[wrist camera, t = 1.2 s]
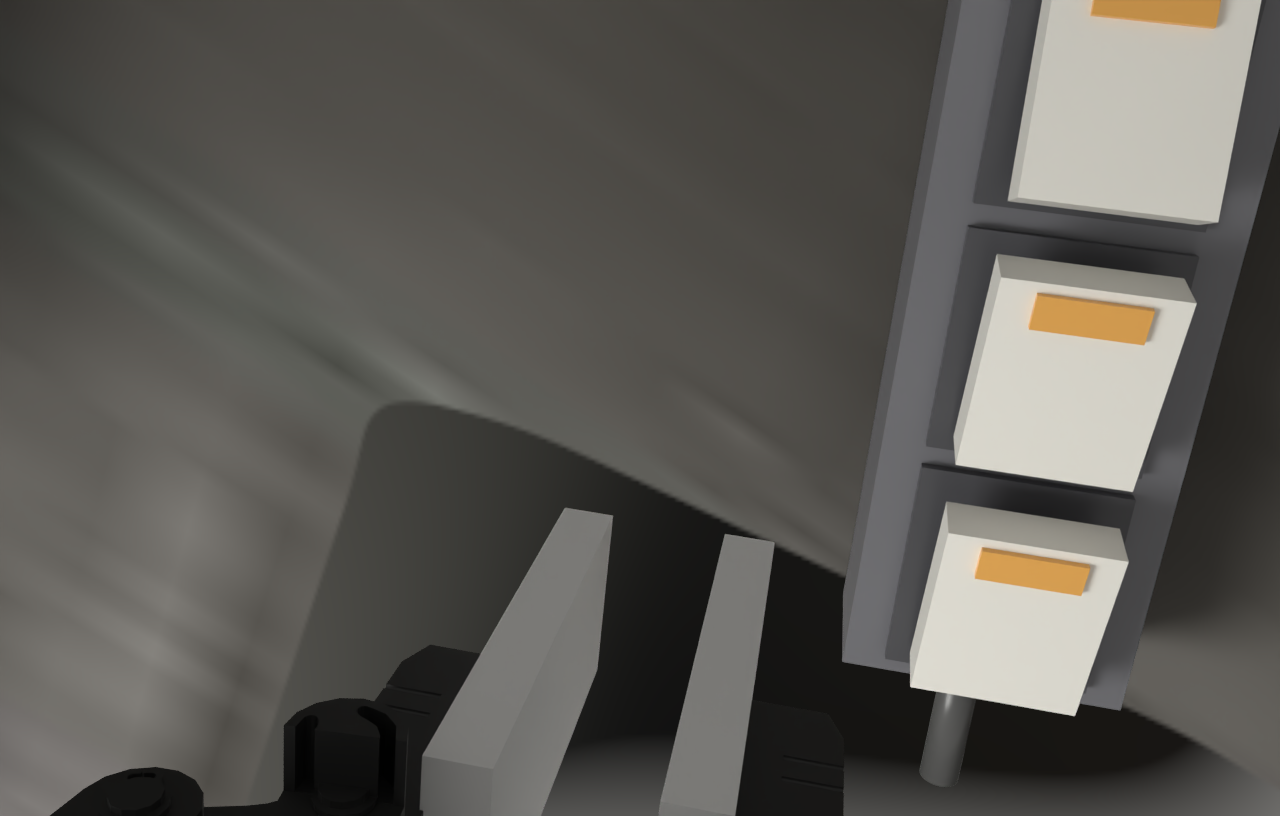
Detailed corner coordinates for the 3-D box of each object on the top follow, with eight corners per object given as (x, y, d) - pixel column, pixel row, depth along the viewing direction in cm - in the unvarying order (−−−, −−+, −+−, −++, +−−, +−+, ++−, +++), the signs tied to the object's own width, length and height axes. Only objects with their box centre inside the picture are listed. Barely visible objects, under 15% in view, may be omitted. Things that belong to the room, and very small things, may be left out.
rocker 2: (953, 436, 36) (956, 468, 35) (996, 253, 33) (1001, 280, 32) (1123, 461, 36) (1133, 495, 34) (1184, 278, 32) (1198, 306, 31)
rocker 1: (1007, 201, 33) (1019, 196, 31) (1046, -26, 32) (1060, -44, 30) (1198, 225, 32) (1220, 222, 30) (1242, -6, 31) (1268, -23, 29)
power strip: (819, 730, 47) (815, 817, 42) (960, -67, 37) (977, -79, 32) (1061, 774, 45) (1087, 870, 40) (1271, -36, 36) (1339, -44, 31)
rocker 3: (909, 652, 39) (910, 691, 37) (946, 501, 36) (948, 537, 34) (1068, 679, 38) (1075, 720, 37) (1119, 528, 35) (1129, 566, 33)
